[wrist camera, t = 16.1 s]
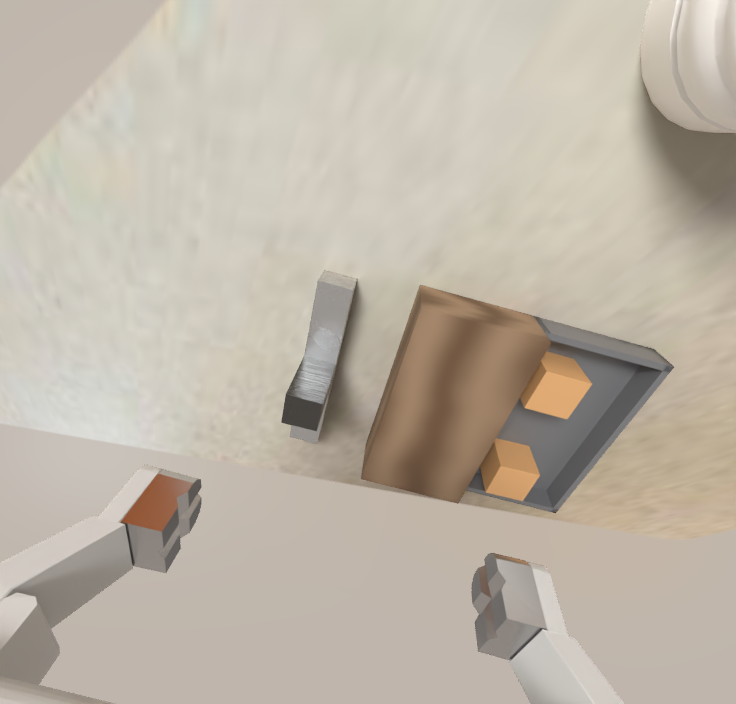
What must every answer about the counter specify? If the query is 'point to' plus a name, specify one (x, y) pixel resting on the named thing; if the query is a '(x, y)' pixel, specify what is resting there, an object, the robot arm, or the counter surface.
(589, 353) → the tray
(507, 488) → the block
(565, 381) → the block
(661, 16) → the honey pot
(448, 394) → the ledge
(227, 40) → the counter surface
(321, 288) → the grey stick with cube
